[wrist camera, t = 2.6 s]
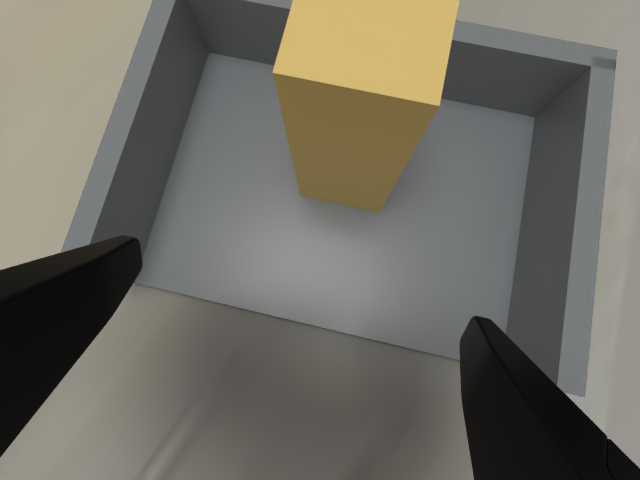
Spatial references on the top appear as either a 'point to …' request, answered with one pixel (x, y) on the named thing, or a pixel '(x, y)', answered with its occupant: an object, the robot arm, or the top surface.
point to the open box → (353, 223)
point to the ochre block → (360, 91)
